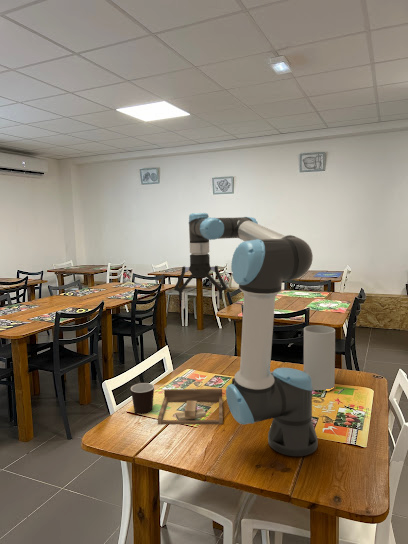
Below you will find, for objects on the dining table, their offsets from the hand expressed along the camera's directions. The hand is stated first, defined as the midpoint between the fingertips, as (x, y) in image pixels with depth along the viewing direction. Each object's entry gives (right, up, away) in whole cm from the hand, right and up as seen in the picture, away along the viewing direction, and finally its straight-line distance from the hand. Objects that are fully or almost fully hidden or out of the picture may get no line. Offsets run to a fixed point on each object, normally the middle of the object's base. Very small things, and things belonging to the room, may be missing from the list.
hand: (200, 308), depth 154 cm
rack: (-3, -39, -9) cm, 40 cm away
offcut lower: (-3, -39, -13) cm, 42 cm away
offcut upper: (-3, -36, -13) cm, 39 cm away
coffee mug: (-21, -39, -5) cm, 44 cm away
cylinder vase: (+50, -35, +13) cm, 62 cm away
